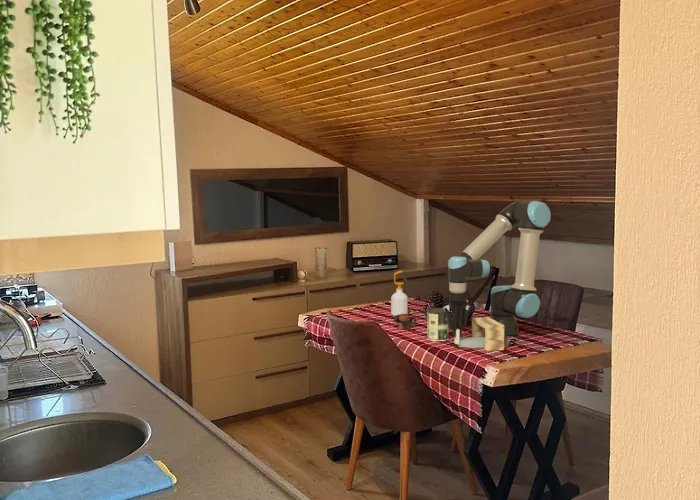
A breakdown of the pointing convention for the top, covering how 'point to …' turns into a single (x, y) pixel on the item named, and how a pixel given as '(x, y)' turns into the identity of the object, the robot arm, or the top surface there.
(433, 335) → the coffee can
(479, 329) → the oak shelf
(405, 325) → the pottery mug
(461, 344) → the grey flat block
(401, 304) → the soap bottle
